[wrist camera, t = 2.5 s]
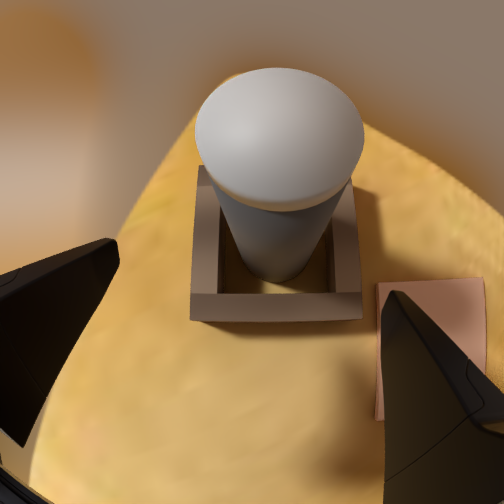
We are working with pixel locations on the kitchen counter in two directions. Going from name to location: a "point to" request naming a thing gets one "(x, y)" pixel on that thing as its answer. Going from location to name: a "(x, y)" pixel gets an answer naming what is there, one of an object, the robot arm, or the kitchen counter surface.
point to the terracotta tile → (441, 317)
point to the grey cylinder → (278, 162)
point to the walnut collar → (273, 305)
